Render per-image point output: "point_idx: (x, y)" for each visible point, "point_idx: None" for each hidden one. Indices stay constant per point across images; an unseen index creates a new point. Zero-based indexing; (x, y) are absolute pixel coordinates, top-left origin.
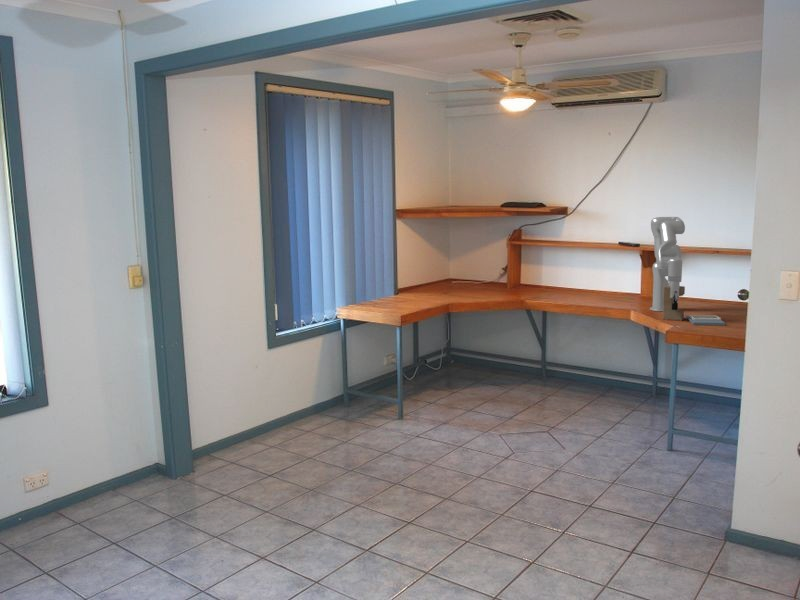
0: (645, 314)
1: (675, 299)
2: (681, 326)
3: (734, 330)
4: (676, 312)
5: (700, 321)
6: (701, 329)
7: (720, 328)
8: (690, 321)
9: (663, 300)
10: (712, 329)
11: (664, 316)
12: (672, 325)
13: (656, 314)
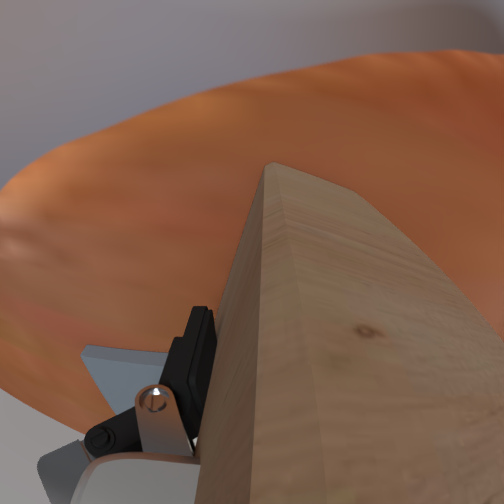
0: (494, 75)
1: (64, 449)
2: (21, 272)
3: (66, 421)
4: (216, 327)
5: (127, 393)
6: (14, 340)
7: (73, 405)
8: (161, 357)
9: (287, 253)
10: (38, 376)
11: (260, 182)
12: (23, 222)
13: (499, 164)
